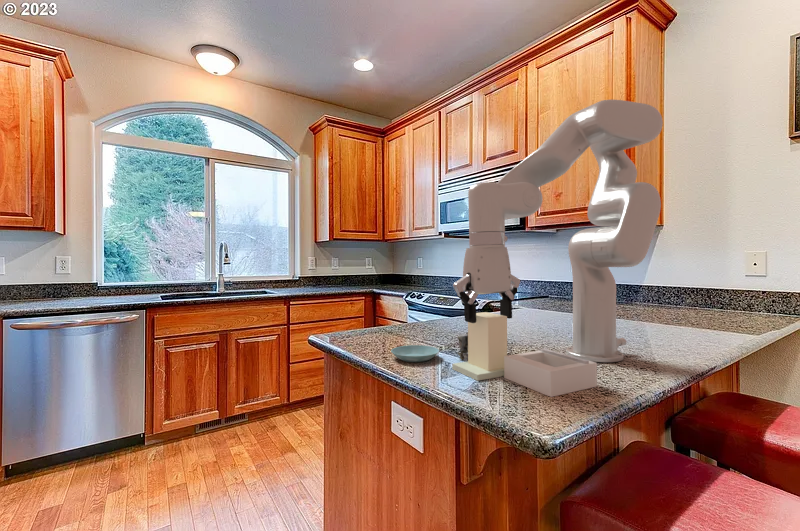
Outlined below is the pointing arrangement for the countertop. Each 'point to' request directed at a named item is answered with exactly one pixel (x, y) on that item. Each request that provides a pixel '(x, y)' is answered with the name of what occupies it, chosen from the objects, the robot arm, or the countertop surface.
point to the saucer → (415, 353)
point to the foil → (464, 346)
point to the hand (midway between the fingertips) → (488, 319)
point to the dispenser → (550, 372)
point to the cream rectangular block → (487, 341)
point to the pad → (476, 371)
